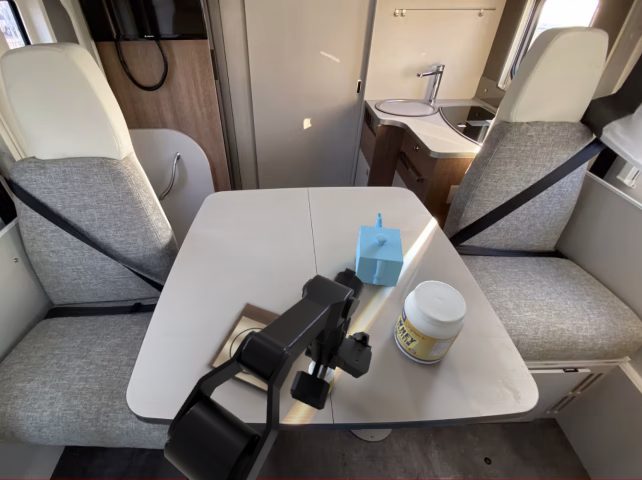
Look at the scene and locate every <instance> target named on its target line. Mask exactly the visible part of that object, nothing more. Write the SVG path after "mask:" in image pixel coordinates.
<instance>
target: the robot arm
mask: <svg viewBox="0 0 642 480" xmlns="http://www.w3.org/2000/svg"><path fill="white" fill-rule="evenodd" d="M364 290H365V285H364V283H363V282H362V281H361V280H360V279H359V278H358V277H357V276H356V270H353V269H351V268H348V267H346V268H345V270H342V271H339V272H337V273H336V275H335V276H334V277H333V279H330V278H328V277H326V276H323V275H321V274H320V273H319V274H316V275H314V276H313V277H312V278H310V279H308V280H307V281H306V282H305V283H304V284H303V286H302V288H301V291H302V293H301V299H300V300H298V301H297V302H296V303H294V304H293V305H292V306H290V307H289V308H288V309H287V310H285V311H284V312H283V313H281V314H279V315H280V316H279V317H277V318H276V319H275V320H274V321H272V322H271V323H270V324H268V325H267V326H266V327H264V328H263V329H262V330H260V331H259V332H256V331H251V332H249V333H248V334H247V335H246V336H245V338H244V339H243V340H242V342H241V343H240V345H239V347H238V348H237V350H236V351H235V353H234V355H233V356H232V358H230V359H229V360H227V361H226V362H224V363H223V364H221V365H219V366H218V367H216V368H212V369H211V370H210V371H208V372H206V373H205V374H203V375H202V376H201V377H200V378H199V379H198V380H197V382H196V383H195V385H194V386H193V387H192V390H191V391H190V392H189V394H188V396H186V399H185V400H184V402H183V404H182V405H181V406H180V407H179V410H178V411H177V412H176V414H175V416H174V417H173V419H172V421H171V422H170V424H169V426H168V430H167V432H166V433H167V434H166V439H167V440H165V442H164V446H163V455H164V458H165V459H166V460H168V462H170V463H171V464H172V465H173V466H174V467H175V468H176V469H177V470H178V471H179V472H181V473H182V474H183V475H184V476H185V477H186V478H187V479H188V480H256V479H257V478H258V476H259V473H260V472H261V469H262V467H263V466H264V463H265V461H266V460H267V458H268V455H269V454H270V451H271V450H272V447H273V445H274V443H275V441H276V439H277V437H278V435H279V431H280V411H281V408H280V407H281V389H282V387H283V385H284V384H285V382H286V380H287V378H288V376H289V373H290V371H291V369H292V367H293V364H294V363H295V362H296V361H297V359H298V358H299V357H300V356H301V355H302V354H303V353H304V356H305V357H307V358H310V359H311V360H312V361H314V362H315V363H316V364H315V366H314V369H313V372H312V374H309V373H308V372H306V371H304V370H297V371H296V373H295V376H294V378H293V381H292V384H291V386H290V388H289V390H290V391H289V393H290V396H291V398H292V399H294V400H296V401H298V402H299V403H302V404H304V405H307V406H308V407H311V408H313V409H315V410H318V411H322V410H324V409H325V406H326V403H327V400H328V396H329V394H330V393H329V389H330V384H329V383H328V382H327V381H326V380H324V379H325V376H326V373H327V370H328V367H329V368H331V369H333V370H334V371H336V369H337V368H339V369H340V370H341V371H342V372H343V371H344V372H345V373H347V374H348V375H350V376H351V377H352V378H354V379H359V378H361V377H363V376H364V375H366V374H368V372H369V370H370V366H371V362H372V358H373V353H372V348H373V347H372V345H370V344H369V342H370V334H368V333H367V332H365V331H358V332H357V331H356V332H354V333H353V334H352V335H351V334H349V335H348V332H349V328H350V326H351V323H352V322H351V321H352V316H353V315H354V314H355V312H356V311H357V309H358V307H359V304H360V302H361V300H360V297H361V295H362V294H363V291H364ZM347 335H348V336H347ZM322 365H324V366H322ZM321 366H322V367H323V368H322V370H321V371H322V372H320V373H321V374H320V376H319V378H318V374H319V371H320V369H321ZM243 370H245V371H246V372H248V373H249V374H251V375H253V376H254V377H256V378H257V379H259V380H260V381H262V382H263V383H265V384H266V385H268V388H267V392H266V413H265V415H266V417H265V418H266V420H265V428H264V430H263V432H262V434H261V433H259V432H258V431H256V429H254V428H253V427H251V426H250V425H249V424H248V423H246V422H245V421H243V420H242V419H241V418H239V417H238V416H237V415H235V414H234V413H232V412H231V411H229V409H228V408H226V407H224V406H223V405H222V404H220V403H219V402H218V401H216V400H215V399H213V398H212V395H213V393H214V392H215V390H216V389H217V388H218V387H219V386H221V385H222V384H224V383H225V382H227V381H229V380H230V379H232V378H234V377H233V376H235V375H237V374H238V373H240V372H241V371H243ZM328 393H329V394H328Z"/></svg>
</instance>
